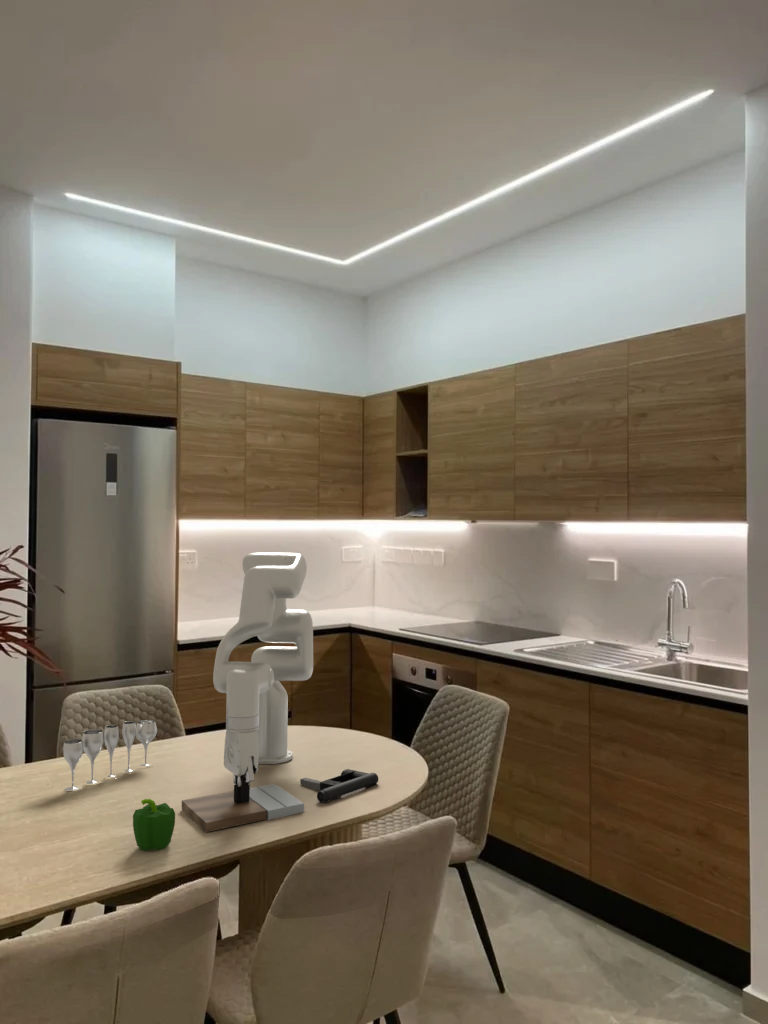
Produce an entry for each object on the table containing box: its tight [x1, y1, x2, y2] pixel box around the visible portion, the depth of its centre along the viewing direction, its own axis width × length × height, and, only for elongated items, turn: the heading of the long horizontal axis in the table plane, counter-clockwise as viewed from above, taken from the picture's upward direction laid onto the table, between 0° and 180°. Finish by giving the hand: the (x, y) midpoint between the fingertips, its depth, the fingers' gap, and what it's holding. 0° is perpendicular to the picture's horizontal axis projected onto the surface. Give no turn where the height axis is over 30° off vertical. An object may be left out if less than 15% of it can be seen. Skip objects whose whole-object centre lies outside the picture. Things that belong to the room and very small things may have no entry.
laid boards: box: [249, 783, 305, 821], centre depth 184 cm, size 16×9×2 cm, turn 33°
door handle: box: [299, 768, 379, 803], centre depth 197 cm, size 3×20×16 cm
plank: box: [181, 790, 267, 833], centre depth 178 cm, size 16×14×2 cm
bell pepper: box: [132, 798, 176, 852], centre depth 160 cm, size 8×8×10 cm
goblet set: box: [62, 719, 158, 791], centre depth 204 cm, size 28×6×13 cm, turn 147°
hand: (241, 801), depth 180 cm, fingers closed
